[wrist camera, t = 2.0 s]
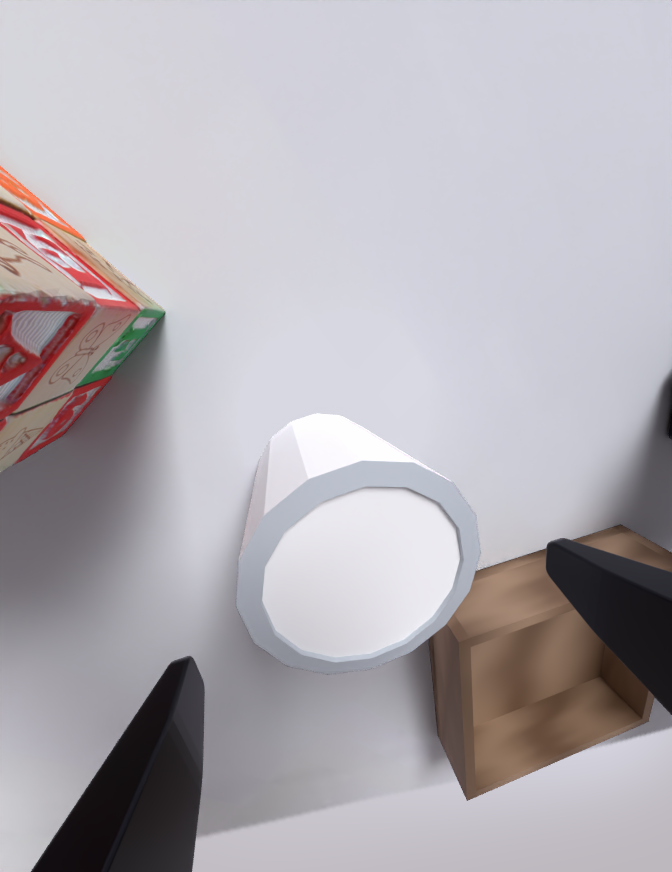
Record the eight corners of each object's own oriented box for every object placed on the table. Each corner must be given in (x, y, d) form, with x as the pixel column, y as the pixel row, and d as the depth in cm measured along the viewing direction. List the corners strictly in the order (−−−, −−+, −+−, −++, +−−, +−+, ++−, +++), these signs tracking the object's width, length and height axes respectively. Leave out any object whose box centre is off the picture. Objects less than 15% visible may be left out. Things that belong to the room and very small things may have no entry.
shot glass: (290, 562, 17) (313, 714, 10) (209, 448, 14) (174, 556, 8) (412, 493, 17) (509, 598, 11) (355, 370, 14) (438, 409, 8)
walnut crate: (620, 524, 21) (686, 561, 18) (598, 671, 26) (648, 721, 23) (423, 587, 19) (458, 642, 16) (438, 735, 24) (467, 800, 21)
